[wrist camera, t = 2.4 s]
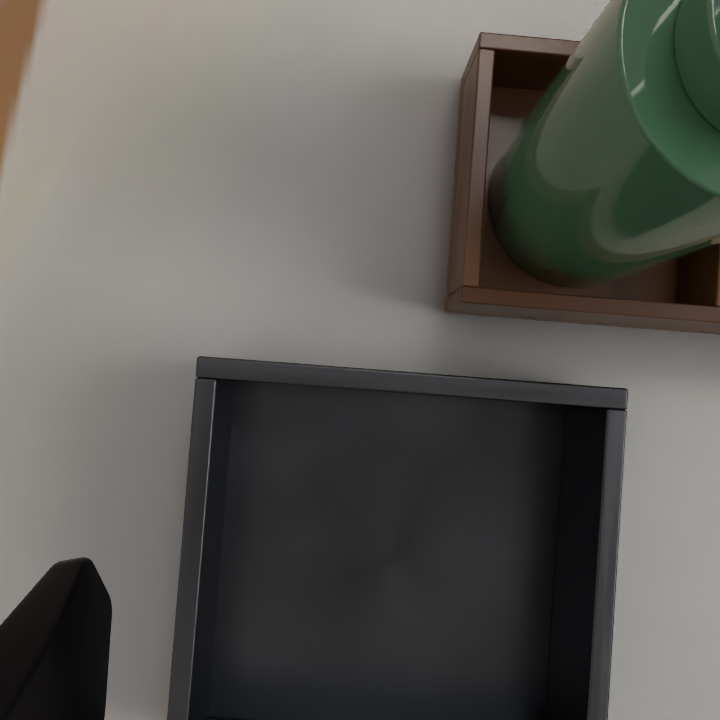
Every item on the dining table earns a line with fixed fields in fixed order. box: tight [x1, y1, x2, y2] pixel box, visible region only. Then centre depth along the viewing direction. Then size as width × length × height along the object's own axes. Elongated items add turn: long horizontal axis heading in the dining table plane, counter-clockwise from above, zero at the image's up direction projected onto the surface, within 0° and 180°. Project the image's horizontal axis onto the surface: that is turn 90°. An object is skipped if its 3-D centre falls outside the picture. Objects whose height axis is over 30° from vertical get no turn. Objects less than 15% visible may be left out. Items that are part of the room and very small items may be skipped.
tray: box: [167, 356, 628, 720], centre depth 21 cm, size 12×12×4 cm
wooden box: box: [445, 32, 720, 334], centre depth 22 cm, size 8×16×3 cm, turn 86°
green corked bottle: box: [489, 0, 720, 288], centre depth 15 cm, size 6×6×16 cm
